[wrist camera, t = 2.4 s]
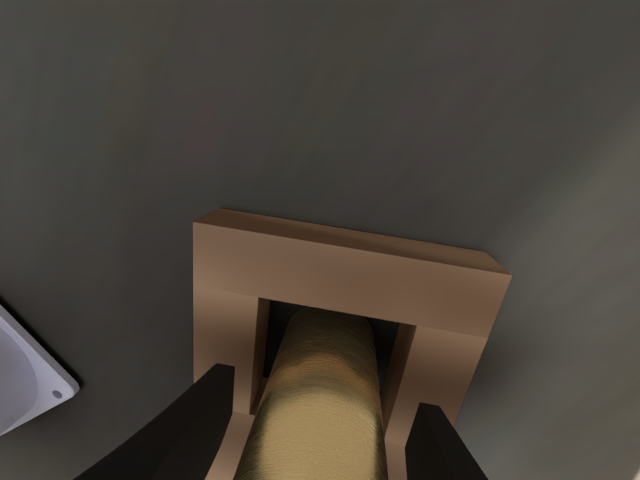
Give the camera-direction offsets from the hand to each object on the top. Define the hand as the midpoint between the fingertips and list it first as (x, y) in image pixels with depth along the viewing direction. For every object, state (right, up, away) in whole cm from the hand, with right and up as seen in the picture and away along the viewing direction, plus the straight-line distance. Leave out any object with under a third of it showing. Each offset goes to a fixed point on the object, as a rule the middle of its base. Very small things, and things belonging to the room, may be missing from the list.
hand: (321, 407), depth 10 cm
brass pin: (0, +1, +3) cm, 3 cm away
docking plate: (0, -4, +5) cm, 6 cm away
